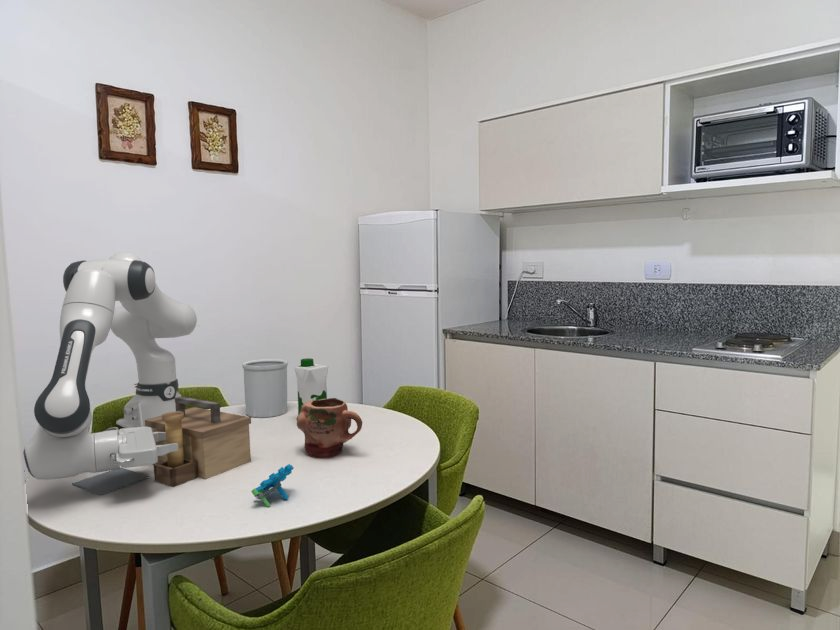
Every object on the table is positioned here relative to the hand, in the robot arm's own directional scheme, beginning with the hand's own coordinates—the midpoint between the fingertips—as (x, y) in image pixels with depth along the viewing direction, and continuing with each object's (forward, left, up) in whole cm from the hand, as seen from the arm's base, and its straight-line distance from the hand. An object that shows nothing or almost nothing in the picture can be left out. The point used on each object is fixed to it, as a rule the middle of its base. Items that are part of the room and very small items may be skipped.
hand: (175, 440), depth 139 cm
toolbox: (-5, +7, -9) cm, 13 cm away
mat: (-13, -9, -9) cm, 18 cm away
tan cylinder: (0, 0, -9) cm, 9 cm away
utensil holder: (-27, +54, -10) cm, 61 cm away
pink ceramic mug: (+20, +32, -10) cm, 39 cm away
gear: (+29, +3, -10) cm, 30 cm away
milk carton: (-5, +53, -10) cm, 54 cm away
